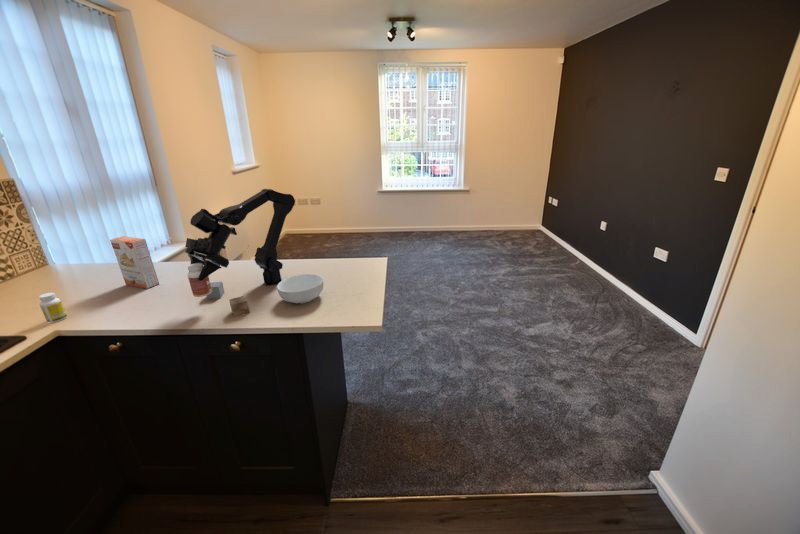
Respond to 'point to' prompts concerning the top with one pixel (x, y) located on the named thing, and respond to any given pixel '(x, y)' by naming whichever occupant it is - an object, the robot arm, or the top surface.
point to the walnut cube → (239, 306)
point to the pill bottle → (198, 281)
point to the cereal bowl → (300, 288)
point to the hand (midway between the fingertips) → (194, 278)
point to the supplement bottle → (52, 308)
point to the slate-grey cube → (216, 290)
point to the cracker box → (135, 261)
